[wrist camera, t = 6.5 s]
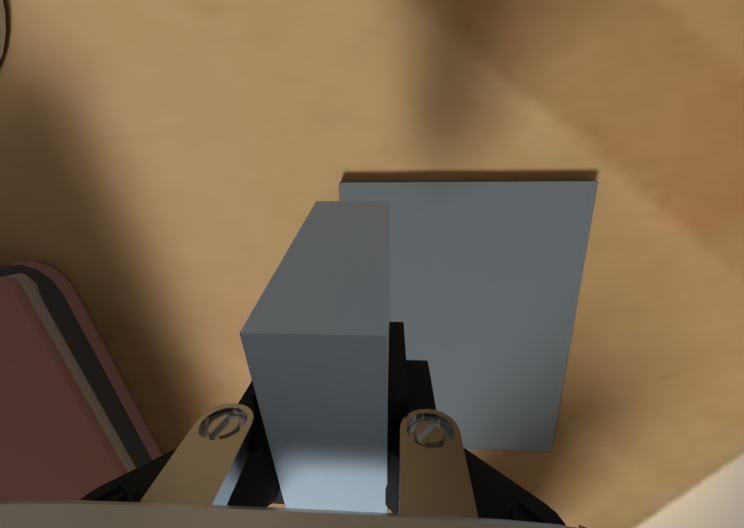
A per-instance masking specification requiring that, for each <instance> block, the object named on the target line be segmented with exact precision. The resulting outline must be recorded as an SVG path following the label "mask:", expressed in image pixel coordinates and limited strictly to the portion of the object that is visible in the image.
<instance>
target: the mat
mask: <svg viewBox="0 0 744 528" xmlns="http://www.w3.org/2000/svg"><path fill="white" fill-rule="evenodd" d="M597 185H598V181H592V180H585V181H426V182H340V183H339V200H340V201H390V322H404V335H405V349H406V360H427V361H428V365H429V371H430V376H431V382H432V388H433V394H434V399H435V405H436V410H437V411H440V412H443V413H445V414H446V415H448V416H450V417H451V418H452V419H453V420H454V421H455V422H456V423H457V425H458V427H459V430H460V433H461V438H462V443H463V448H465V449H486V450H510V451H535V452H552V446H553V440H554V434H555V428H556V423H557V417H558V411H559V405H560V399H561V394H562V388H563V382H564V376H565V370H566V365H567V359H568V353H569V347H570V341H571V336H572V330H573V324H574V318H575V312H576V307H577V301H578V295H579V289H580V283H581V278H582V272H583V266H584V260H585V255H586V249H587V243H588V237H589V231H590V226H591V220H592V214H593V208H594V202H595V197H596V191H597Z"/></svg>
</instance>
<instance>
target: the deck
mask: <svg viewBox="0 0 744 528" xmlns="http://www.w3.org/2000/svg"><path fill="white" fill-rule="evenodd" d="M389 322H390V201H323V202H315V204H314V206H313V208H312V209H311V211H310V213H309V214H308V216H307V218H306V220H305V221H304V223H303V225H302V227H301V228H300V230H299V232H298V233H297V235H296V237H295V239H294V240H293V242H292V244H291V245H290V247H289V249H288V251H287V252H286V254H285V256H284V258H283V259H282V261H281V263H280V264H279V266H278V268H277V270H276V271H275V273H274V275H273V277H272V278H271V280H270V282H269V283H268V285H267V287H266V289H265V290H264V292H263V294H262V295H261V297H260V299H259V301H258V302H257V304H256V306H255V308H254V309H253V311H252V313H251V314H250V316H249V318H248V320H247V321H246V323H245V325H244V326H243V328H242V330H241V332H240V336H241V340H242V344H243V348H244V352H245V355H246V359H247V363H248V367H249V371H250V374H251V378H252V382H253V386H254V389H255V393H256V397H257V401H258V405H259V408H260V412H261V416H262V420H263V424H264V427H265V431H266V435H267V439H268V443H269V446H270V450H271V454H272V458H273V462H274V465H275V469H276V473H277V477H278V481H279V484H280V488H281V492H282V496H283V500H284V503H285V507H286V508H295V509H317V510H339V511H359V512H379V513H388V508H387V506H386V505H385V489H386V486H387V437H388V360H389Z"/></svg>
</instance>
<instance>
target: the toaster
mask: <svg viewBox="0 0 744 528" xmlns="http://www.w3.org/2000/svg"><path fill="white" fill-rule="evenodd" d="M160 456H163V454H162V452H161V451H160V449H159V447H158V445H157V443H156V441H155V439H154V437H153V435H152V433H151V432H150V430H149V428H148V426H147V424H146V422H145V420H144V418H143V416H142V414H141V412H140V411H139V409H138V407H137V405H136V403H135V401H134V399H133V397H132V395H131V393H130V392H129V390H128V388H127V386H126V384H125V382H124V380H123V378H122V376H121V374H120V372H119V371H118V369H117V367H116V365H115V363H114V361H113V359H112V357H111V355H110V353H109V352H108V350H107V348H106V346H105V344H104V342H103V340H102V338H101V336H100V334H99V332H98V331H97V329H96V327H95V325H94V323H93V321H92V319H91V317H90V315H89V313H88V312H87V310H86V308H85V306H84V304H83V302H82V300H81V298H80V296H79V294H78V292H77V291H76V289H75V288H74V286H73V285H72V284H71V282H70V281H69V280H68V278H67V277H66V276H65V275H64V274H62V273H61V272H60V271H58V270H57V269H55V268H54V267H53V266H50V265H47V264H44V263H41V262H38V261H21V262H16V263H12V264H8V265H5V266H1V267H0V502H7V501H20V500H80V499H82V498H83V497H84V496H85V495H87V494H88V493H89V492H91V491H93V490H95V489H96V488H98V487H100V486H101V485H103V484H106V483H108V482H110V481H112V480H114V479H116V478H118V477H120V476H122V475H124V474H126V473H128V472H130V471H132V470H134V469H136V468H138V467H140V466H142V465H144V464H146V463H148V462H150V461H152V460H154V459H156V458H158V457H160Z"/></svg>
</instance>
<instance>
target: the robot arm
mask: <svg viewBox="0 0 744 528" xmlns="http://www.w3.org/2000/svg"><path fill="white" fill-rule="evenodd" d="M5 36H6V18H5V8H4V3H3V0H0V59H1V56H2V54H3V50H4V43H5ZM271 503H276V504H285V503H284V500H283V496H282V492H281V488H280V484H279V481H278V477H277V473H276V469H275V465H274V462H273V458H272V454H271V450H270V446H269V443H268V439H267V435H266V431H265V427H264V424H263V420H262V416H261V412H260V408H259V405H258V401H257V397H256V393H255V389H254V386H253V382H251V384H250V385H249V387H248V388H247V390H246V392H245V393H244V395H243V397H242V398H241V400H240V401H239V403H238V404H226V405H222V406H219V407H216V408H214V409H212V410H210V411H208V412H206V413H205V414H204V415H202V416H201V417H200V418H199V419H198V420H197V421H196V422H195V424H194V425H193V426H192V428H191V429H190V431H189V432H188V434H187V435H186V436H185V438H184V439H183V441H182V442H181V444H180V445H179V446H178V448H177V449H175V450H173V451H171V452H169V453H167V454H165V455H163V456H160V457H158V458H156V459H154V460H152V461H150V462H148V463H146V464H144V465H142V466H140V467H138V468H136V469H134V470H132V471H130V472H128V473H126V474H124V475H122V476H120V477H118V478H116V479H114V480H112V481H110V482H108V483H106V484H103V485H101V486H100V487H98V488H96V489H95V490H93V491H91V492H89V493H88V494H87V495H85V496H84V497H83V498H82V499H80V500H20V501H7V502H0V528H576V527H570V526H566V525H565V523H564V522H563V521H562V519H561V518H560V517H559V516H558V514H557V513H556V512H555V511H553V510H552V509H551V508H550V507H549V506H548V505H546V504H545V503H543V502H542V501H541V500H539V499H538V498H536V497H535V496H533V495H532V494H530V493H529V492H527V491H526V490H525V489H523V488H522V487H520V486H519V485H517V484H516V483H514V482H513V481H511V480H510V479H509V478H507V477H506V476H504V475H503V474H501V473H500V472H498V471H497V470H495V469H494V468H493V467H491V466H490V465H488V464H487V463H485V462H484V461H482V460H481V459H479V458H478V457H476V456H475V455H474V454H472V453H471V452H469V451H468V450H466V449H465V448H463V443H462V438H461V433H460V430H459V427H458V425H457V423H456V422H455V421H454V420H453V419H452V418H451V417H450V416H448V415H446V414H445V413H443V412H440V411H437V410H436V405H435V399H434V394H433V388H432V382H431V376H430V371H429V365H428V361H427V360H406V349H405V335H404V322H389V360H388V437H387V486H386V489H385V505H386V506H387V508H389V509H390V510H391V511H392V512H393V513H379V512H359V511H339V510H317V509H295V508H272V507H267V506H269V505H270V504H271ZM579 528H586V527H583V526H581V525H579Z"/></svg>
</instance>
